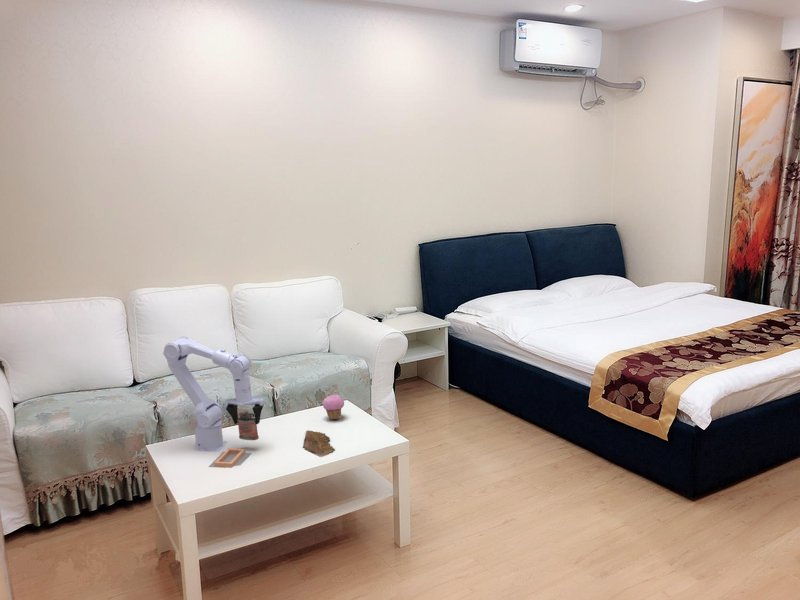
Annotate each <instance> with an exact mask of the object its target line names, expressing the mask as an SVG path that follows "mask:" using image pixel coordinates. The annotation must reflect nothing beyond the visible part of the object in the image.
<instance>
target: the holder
mask: <svg viewBox="0 0 800 600" xmlns="http://www.w3.org/2000/svg"><path fill="white" fill-rule="evenodd" d="M251 455H252V452H246V449H245V448H227V449H226V450H225V451H222V452H221V453H220V454H219V455H218V456H217V457H216V459H214V460H213V462H211V463H210V464H209V465H208V468H226V469H227V468H231V469H232V468H234V467H238V466H242V464H243V463H245V461H246V460H247V459H248V458H249V457H250V456H251Z"/></svg>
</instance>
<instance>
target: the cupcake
mask: <svg viewBox="0 0 800 600" xmlns="http://www.w3.org/2000/svg"><path fill="white" fill-rule="evenodd" d="M344 406H345V400H344V398H343V397H341V396H340V394H331V395H328V396H327V397H326V398H324V399H323V401H322V407H323V408H324V410H325V411H326V414H327V417H328V419H329V420H339V419H340V417H341V416H342V408H343V407H344Z"/></svg>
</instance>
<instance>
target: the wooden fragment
mask: <svg viewBox="0 0 800 600" xmlns="http://www.w3.org/2000/svg"><path fill="white" fill-rule="evenodd" d="M330 440H331V439H330V436H328V435H326V433H323V432H321V431H313V430H310V429H309V430H306V432H305V437H304V439H303V445H302V448H303V449H304V450H305V451H307V452H309V453H311V454H314V455H316V456H318V457H320V458H322V457H326V456H329V455H330V454H331V453H333V452H334V451H335V450H336V448H334V447H333V446H332V445H331V443H329V441H330Z"/></svg>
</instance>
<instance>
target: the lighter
mask: <svg viewBox="0 0 800 600" xmlns="http://www.w3.org/2000/svg"><path fill="white" fill-rule="evenodd" d="M237 422H238V423H237V426H238V434H239V436H238V438H239V439H240V440H244V441H246V440H247V441H257V440H259V439H260V437H259V433H258V426H257V425H258V424H256V423H255V415H254V412H253V413H252V412H247V411H245V412H240V413H239V414H238V419H237Z"/></svg>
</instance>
